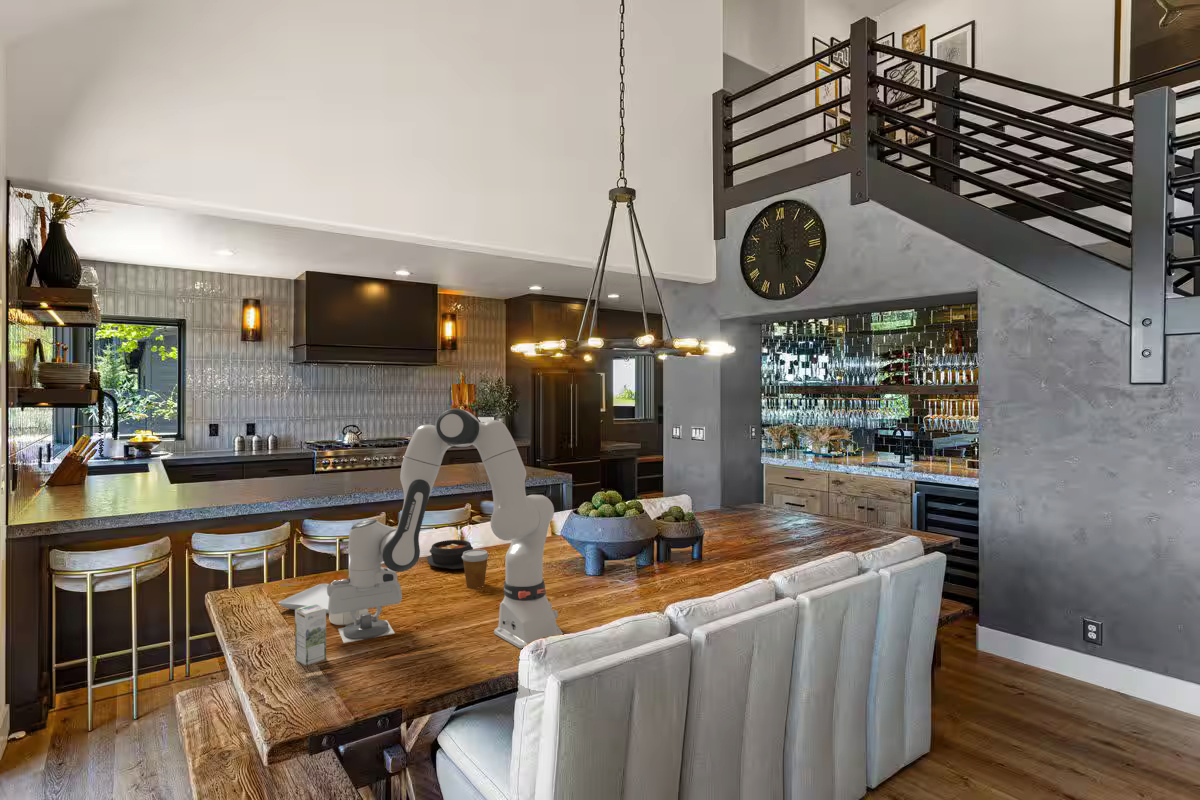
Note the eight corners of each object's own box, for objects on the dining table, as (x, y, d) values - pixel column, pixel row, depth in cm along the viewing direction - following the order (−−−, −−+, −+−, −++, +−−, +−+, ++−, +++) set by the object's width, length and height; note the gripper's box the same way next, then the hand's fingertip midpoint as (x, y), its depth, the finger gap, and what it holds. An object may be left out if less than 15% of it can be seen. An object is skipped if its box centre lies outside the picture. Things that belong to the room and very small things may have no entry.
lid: (392, 634, 191) (391, 617, 190) (346, 642, 185) (346, 625, 185) (383, 620, 202) (383, 604, 201) (340, 627, 196) (340, 611, 195)
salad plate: (373, 597, 226) (373, 587, 226) (332, 619, 206) (332, 608, 205) (321, 591, 232) (321, 582, 232) (276, 613, 211) (276, 602, 211)
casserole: (488, 567, 260) (488, 546, 260) (446, 576, 248) (446, 554, 247) (456, 554, 279) (456, 534, 278) (415, 563, 266) (415, 542, 266)
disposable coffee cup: (491, 581, 241) (491, 549, 241) (484, 590, 232) (484, 556, 231) (466, 581, 242) (466, 548, 242) (458, 589, 233) (458, 555, 232)
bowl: (370, 623, 201) (369, 604, 201) (332, 630, 196) (331, 610, 196) (364, 612, 210) (363, 593, 210) (327, 618, 205) (327, 599, 205)
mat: (395, 635, 191) (394, 633, 191) (343, 645, 184) (343, 642, 184) (386, 622, 202) (386, 619, 202) (337, 631, 195) (337, 628, 195)
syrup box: (316, 655, 178) (315, 602, 178) (327, 661, 174) (326, 607, 174) (295, 662, 174) (294, 608, 173) (306, 668, 170) (305, 613, 169)
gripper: (328, 584, 185) (329, 633, 185) (402, 573, 195) (403, 620, 195) (325, 578, 190) (326, 626, 191) (398, 568, 200) (398, 613, 201)
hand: (366, 623), depth 193 cm, fingers open, 4 cm apart
